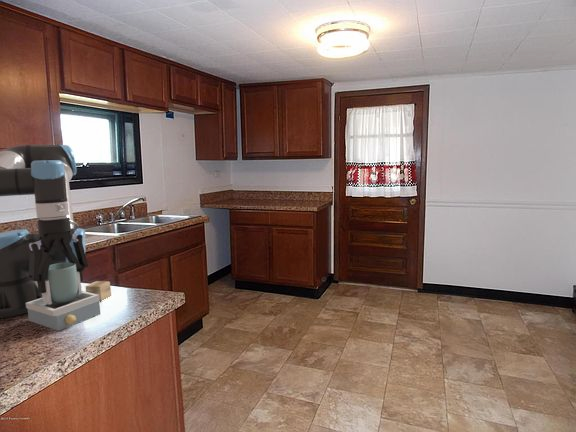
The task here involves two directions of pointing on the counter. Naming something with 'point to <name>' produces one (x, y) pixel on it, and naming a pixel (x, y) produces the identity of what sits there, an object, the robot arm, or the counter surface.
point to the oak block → (100, 289)
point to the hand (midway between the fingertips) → (63, 298)
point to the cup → (62, 282)
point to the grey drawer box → (64, 311)
